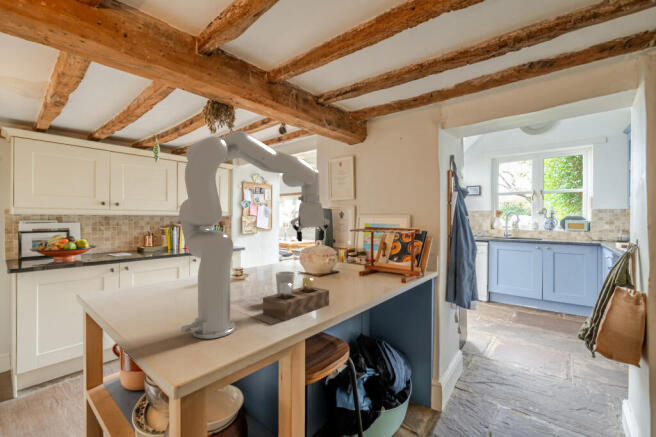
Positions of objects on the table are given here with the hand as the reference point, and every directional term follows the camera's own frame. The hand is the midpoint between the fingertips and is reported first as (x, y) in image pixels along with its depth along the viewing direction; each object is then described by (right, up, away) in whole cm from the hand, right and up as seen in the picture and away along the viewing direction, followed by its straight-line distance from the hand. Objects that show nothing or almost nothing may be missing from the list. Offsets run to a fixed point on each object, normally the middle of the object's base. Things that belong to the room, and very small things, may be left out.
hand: (310, 240), depth 122 cm
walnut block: (-5, -26, -9) cm, 28 cm away
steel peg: (-8, -21, -13) cm, 26 cm away
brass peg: (-1, -21, -4) cm, 21 cm away
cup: (-11, -26, +2) cm, 28 cm away
